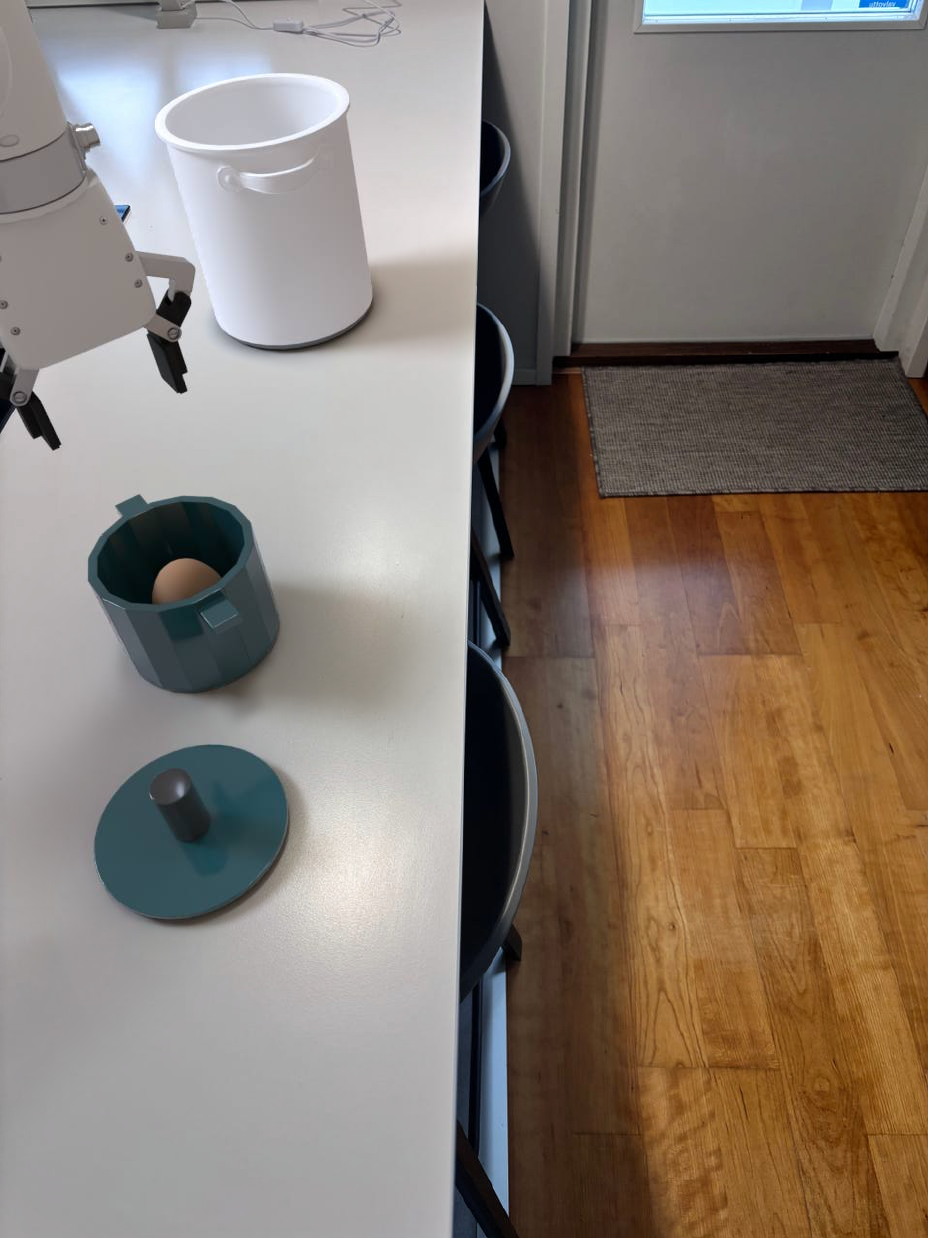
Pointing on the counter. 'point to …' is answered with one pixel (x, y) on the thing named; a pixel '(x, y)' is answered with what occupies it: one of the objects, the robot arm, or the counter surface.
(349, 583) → the counter surface
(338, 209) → the bucket
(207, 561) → the saucepan
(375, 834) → the counter surface
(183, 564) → the egg
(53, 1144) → the counter surface
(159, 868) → the saucepan lid
